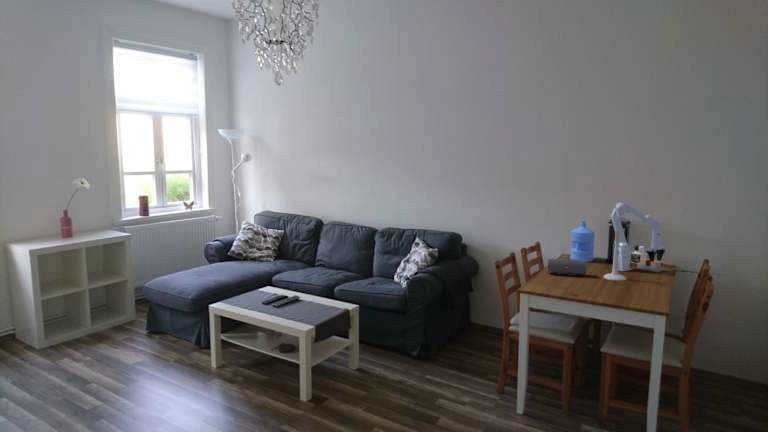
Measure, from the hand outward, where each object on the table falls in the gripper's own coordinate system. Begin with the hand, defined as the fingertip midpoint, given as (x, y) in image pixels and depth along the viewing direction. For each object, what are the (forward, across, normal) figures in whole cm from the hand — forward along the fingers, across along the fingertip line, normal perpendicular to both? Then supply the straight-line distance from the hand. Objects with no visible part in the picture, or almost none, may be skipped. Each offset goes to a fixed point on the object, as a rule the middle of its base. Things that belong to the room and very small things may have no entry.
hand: (655, 261), depth 320 cm
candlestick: (+7, -39, 0) cm, 40 cm away
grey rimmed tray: (+6, 0, +3) cm, 7 cm away
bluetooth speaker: (+7, -57, +22) cm, 62 cm away
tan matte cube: (+5, 0, 0) cm, 5 cm away
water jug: (+7, -13, +46) cm, 49 cm away
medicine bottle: (+6, +12, +19) cm, 23 cm away
